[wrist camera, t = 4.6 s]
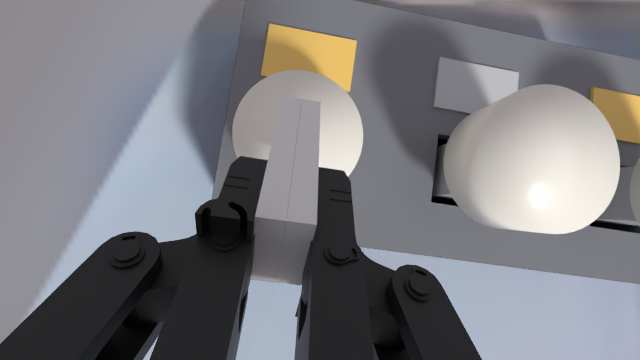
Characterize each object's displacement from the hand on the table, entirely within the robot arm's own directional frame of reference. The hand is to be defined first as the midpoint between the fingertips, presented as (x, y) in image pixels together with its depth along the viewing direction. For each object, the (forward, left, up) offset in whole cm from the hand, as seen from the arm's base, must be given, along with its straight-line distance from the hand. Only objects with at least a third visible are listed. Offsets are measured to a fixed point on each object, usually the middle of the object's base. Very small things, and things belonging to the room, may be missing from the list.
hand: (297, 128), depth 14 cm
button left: (0, 0, -9) cm, 9 cm away
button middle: (-10, 0, -6) cm, 12 cm away
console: (-10, -2, -12) cm, 16 cm away
